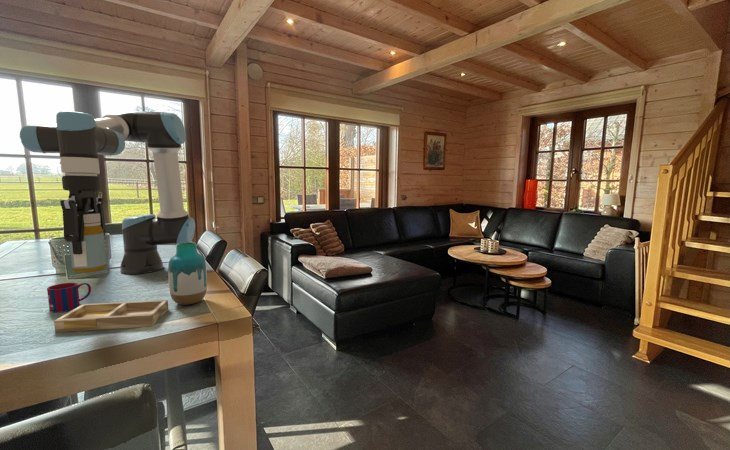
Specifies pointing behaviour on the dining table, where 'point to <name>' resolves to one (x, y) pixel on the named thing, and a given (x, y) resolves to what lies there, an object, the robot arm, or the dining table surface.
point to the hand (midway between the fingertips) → (89, 263)
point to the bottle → (92, 245)
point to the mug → (65, 296)
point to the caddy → (112, 316)
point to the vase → (187, 274)
